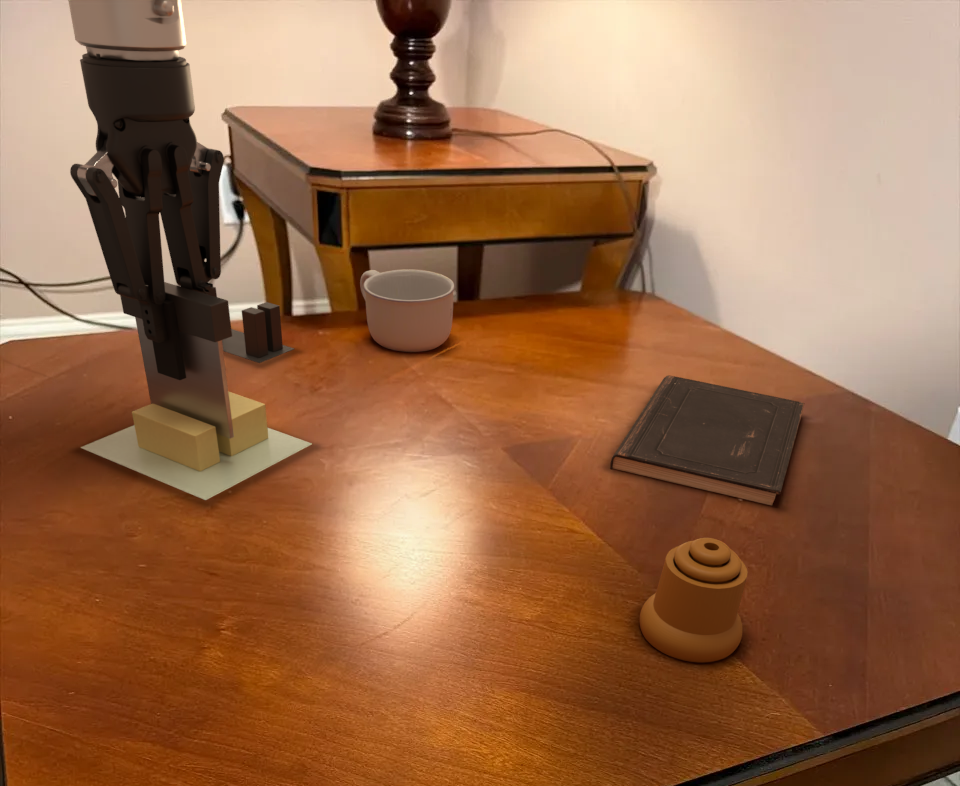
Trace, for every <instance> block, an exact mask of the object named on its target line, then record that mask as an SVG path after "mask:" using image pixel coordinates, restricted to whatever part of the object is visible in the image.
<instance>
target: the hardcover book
mask: <svg viewBox="0 0 960 786" xmlns="http://www.w3.org/2000/svg"><path fill="white" fill-rule="evenodd" d="M805 405H806V403H805V402H804V401H803V402H802V401H798V400H794V399H788V398H783V397H778V396H774V395H769V394H764V393H759V392H753V391H749V390H744V389H739V388H733V387H729V386H725V385H720V384H714V383H710V382H705V381H699V380H694V379H690V378H686V377H685V378H684V377H681V376H677V375H676V376H675V375H669V374H668V375H666V376H664V377H663V379H661V381H660V383H659V385H658V386H657V387H656V389H655V391H654V392H653V394H652V396H651V397H650V399H649V400H648V401H647V403H646V405H645V406H644V408H643V409H642V411H641V413H640V414H639V415H638V417H637V418H636V420H635V421H634V423H633V425H632V426H631V428H630V429H629V430H628V433H627V434H626V435H625V436H624V439H623V440H622V441H621V443H620V444H619V446H618V448H617V449H616V451H615V452H614V454H613V455H612V456H611V460H610V466H609V469H610V470H613V469H614V470H618V471H623V472H627V473H631V474H636V475H640V476H644V477H649V478H653V479H657V480H661V481H665V482H669V483H674V484H678V485H682V486H686V487H692V488H696V489H700V490H704V491H708V492H712V493H717V494H721V495H724V496H730V497H734V498H738V499H742V500H746V501H751V502H755V503H760V504H763V505H767V506H773V503H774V501H775V499H776V496H777V495H781V494H782V489H783V485H784V481H785V477H786V474H787V471H788V467H789V463H790V460H791V456H792V452H793V449H794V445H795V441H796V437H797V435H798V434H797V433H798V430H799V426H800V422H801V419H802V415H803V411H804V407H805Z"/></svg>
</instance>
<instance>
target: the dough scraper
mask: <svg viewBox="0 0 960 786" xmlns="http://www.w3.org/2000/svg"><path fill="white" fill-rule="evenodd" d="M164 284H165V299H167V300H170V301H173V302H174V303H175V309H176V316H177V322H178V329H179V334H180V340H181V347H182V353H183V360H184V366H185V372H186V378H185V379H182V380H177V379H174V378H171V377H168V376H166V375H163V374H160V373H158V371H157V365H156V359H155V354H154V348H153V342H152V340H149V339H147V337H146V335H145V332H144V326H143V320H142V315H141V309H140V304H139V302H138V301H137V300H134V299H131V298H128V297H125V296H122V295H119V296H120V301H121V307H122V312H123V314H124V315H127V316H131V317H133V318H134V317H135V318H134V319H135V324H136V330H137V334H138V341H139V345H140V351H141V357H142V363H143V367H144V368H143V369H144V373H145V379H146V384H147V389H148V395H149V400H150V404H152V403H153V404H156V405H159V406H161V407H164V408H167V409H169V410H172V411H175V412H177V413H180V414H183V415H185V416H188V417H191V418H193V419H196V420H199V421H201V422H204V423H207V424H210V425H212V426H215V427H216V434H219V435H222V436H224V437H227V438H230V439H231V438H233V437H234V433H233V425H232V417H231V409H230V401H229V393H228V391H229V385H228V379H227V378H228V377H227V371H226V362H225V355H224V354H225V352H224V351H223V345H222V340H224V339H226V338H229V337H232V330H231V329H232V323H231V315H230V307H229V300H227V299H225V298H222V297H218V296H217V297H214V296H211V295H208V294H204V293H201V292H197V291H194V290H190V289H187V288H183V287H181V286H179V285H178V284H177V285H176V284H172V283H170V282H167V281H166V282H165V281H164Z"/></svg>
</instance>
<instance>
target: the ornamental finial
mask: <svg viewBox="0 0 960 786" xmlns="http://www.w3.org/2000/svg"><path fill="white" fill-rule="evenodd" d="M748 574H749V573H748V568H747V565H746V564H745V562H744V561H743V560H742V559H741V558H740V557H739V555H738V554H737V553H736V552H735V551H734V550H733V549H731V548H730V547H729V546H728V545H727V544H726V543H725V542H724V541H721V540H719V539H716V538H713V537H700V538H697V539H694V540H689V541H686V542H684V543H682V544H680V545H676V546H675V547H672V549H670V550H669V551H668V552H667V553H666V556H665V559H664V563H663V567H662V570H661V574H660V577H659V580H658V585H657V587H656V592H655V593H654V594H652V595H651V596H649V597H648V598H647V599H646V601H645V602H644V604H643V605H642V606H641V609H640V613H639V628H640V631H641V634H642V636H643V637H644V639H645V640H646V641H647V643H649V644H650V645H651V646H652V647H653V648H655V649H656V650H657V651H659V652H660V653H662V654H664V655H666V656H669V657H671V658H674V659H677V660H680V661H684V662H690V663H703V664H704V663H712V662H718V661H721V660H724V659H726V658H727V657H729V656H730V655H731V654H733V653H734V651H735V650H737V648H738V646H739V645H740V643H741V640H742V637H743V630H744V629H743V622H742V619H741V617H740V615H739V609H740V606H741V601H742V598H743V594H744V590H745V586H746V582H747V579H748Z"/></svg>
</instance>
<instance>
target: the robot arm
mask: <svg viewBox="0 0 960 786" xmlns="http://www.w3.org/2000/svg"><path fill="white" fill-rule="evenodd" d="M67 1H68V5H69V7H68V8H69V11H70V12H69V13H70V17H71V24H72V29H73V35H74V40H75V41H76V42H77V43H78V44H79V45H80V46H84V47H85V50H86V53H83V54H82V55H81V57H82V58H80V60H79V63H80V67H81V74H82V79H83V84H84V90H85V94H86V100H87V105H88V108H89V110H90V111H91V113H92V115H93V117H94V119H95V122H96V126H97V131H96V132H97V133H96V139H95V150H96V153H94V154H93V156H91V158H90V159H89V160H88V161H87V162H85V164H80V163H74V164H72V165H71V167H70V169H69V173H70V176H71V179H72V180H73V181H74V183H75V186H77V188H78V190H79V191H80V193H81V194H82V195H83V197H84V198H85V201H86V205H87V208H88V211H89V215H90V217H91V220H92V224H93V226H94V229H95V233H96V236H97V239H98V240H97V241H98V243H99V245H100V249H101V252H102V255H103V258H104V262H105V265H106V268H107V272H108V274H109V277H110V281H111V284H112V288H113V290H114V292H115V294H117V295H119V296H120V295H122V296H125V297H128V298H131V299H134V300H137V301H138V302H139V304H140V309H141V315H142V320H143V326H144V332H145V335H146V337H147V339H149V340H152V342H153V348H154V354H155V359H156V365H157V371H158V373H160V374H163V375H166V376H168V377H171V378H174V379H177V380H182V379H185V378H186V372H185V366H184V360H183V353H182V347H181V340H180V334H179V329H178V322H177V316H176V309H175V303H174V302H173V301H170V300H167V299H165V284H164V282H165V275H164V274H165V273H164V262H163V261H164V259H163V250H162V236H161V235H162V234H161V226H160V225H161V223H160V218H161V222H162V227H163V231H164V235H165V240H166V245H167V248H168V251H169V252H168V254H169V257H170V262H171V265H172V269H173V275H174V279H175V282H176V284H177V286H180V287H183V288H187V289H190V290H194V291H197V292H201V293H207V294H208V293H210V292H211V291H212V289H213V287H214V283H211V282H210V281H211V280H218V279H220V276H221V273H222V265H221V264H222V260H221V257H222V256H221V221H220V220H221V216H220V215H221V213H220V211H221V210H220V180H221V175H222V171H223V166H224V162H225V157H224V154H223V152H222V151H221V150H219V149H213V148H210V147H207V146H205V145H203V144H201V143H200V142H198V139H197V138H198V137H197V134H196V133H195V131H194V128H193V127H192V124H191V121H190V118H191V117H193V115H194V113H195V111H196V106H195V105H196V104H195V96H194V90H193V89H194V88H193V82H192V74H191V73H192V72H191V66H190V63H189V62H187V58H185V57H183V56H180V51H181V50H184V49H185V48H186V46H187V45H188V44H187V36H186V35H187V34H186V28H185V27H186V26H185V19H184V12H183V11H184V10H183V4H182V0H67ZM117 188H118V192H117V190H116V189H117Z"/></svg>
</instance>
